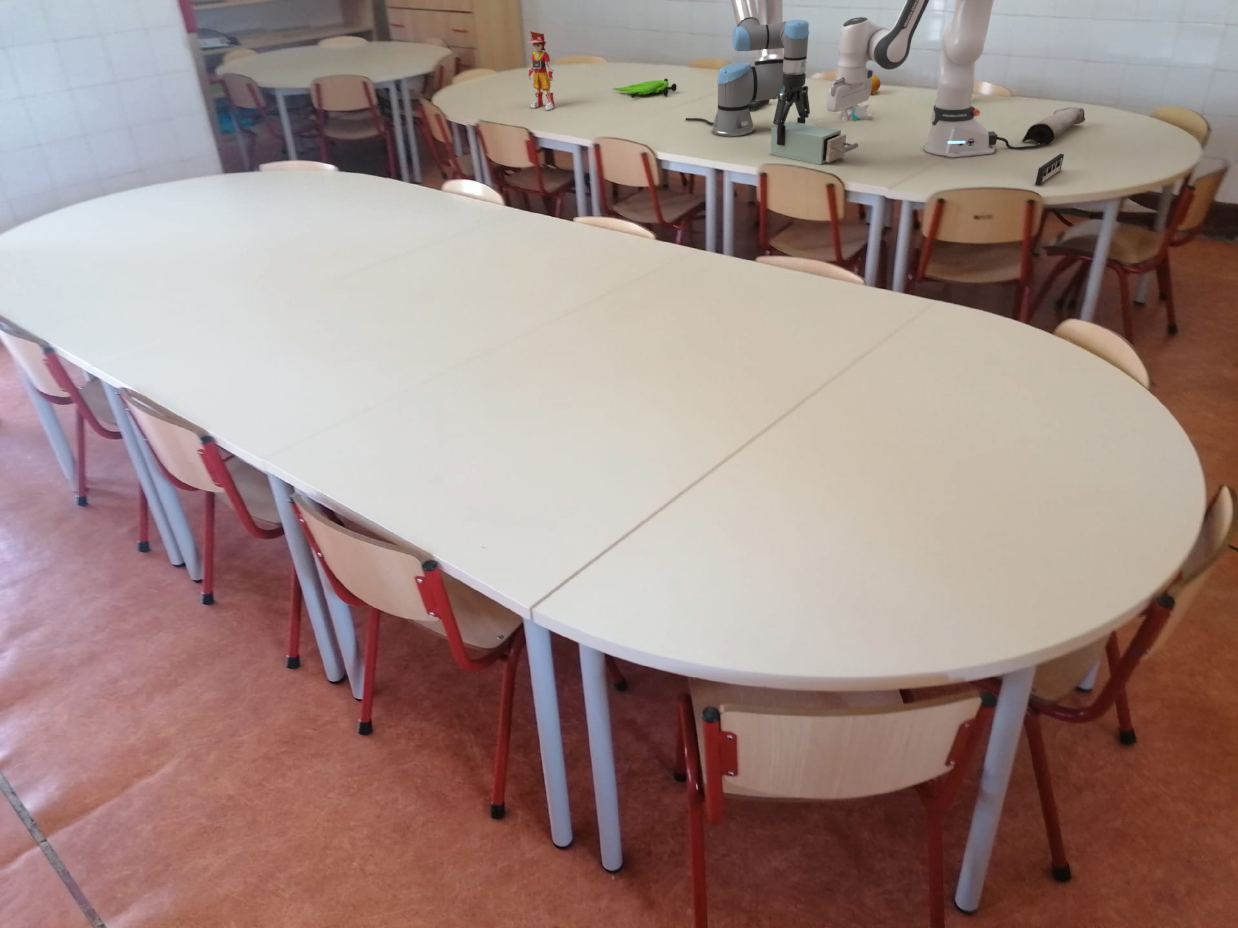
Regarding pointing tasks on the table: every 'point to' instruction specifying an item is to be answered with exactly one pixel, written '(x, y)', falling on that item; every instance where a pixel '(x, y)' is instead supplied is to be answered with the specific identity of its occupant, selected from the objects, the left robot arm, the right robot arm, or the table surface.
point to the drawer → (836, 147)
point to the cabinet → (802, 142)
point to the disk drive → (757, 104)
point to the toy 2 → (648, 88)
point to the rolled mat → (1054, 125)
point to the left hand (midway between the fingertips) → (790, 141)
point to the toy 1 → (541, 71)
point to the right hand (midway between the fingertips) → (846, 120)
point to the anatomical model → (861, 112)
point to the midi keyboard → (1049, 169)
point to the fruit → (875, 84)
